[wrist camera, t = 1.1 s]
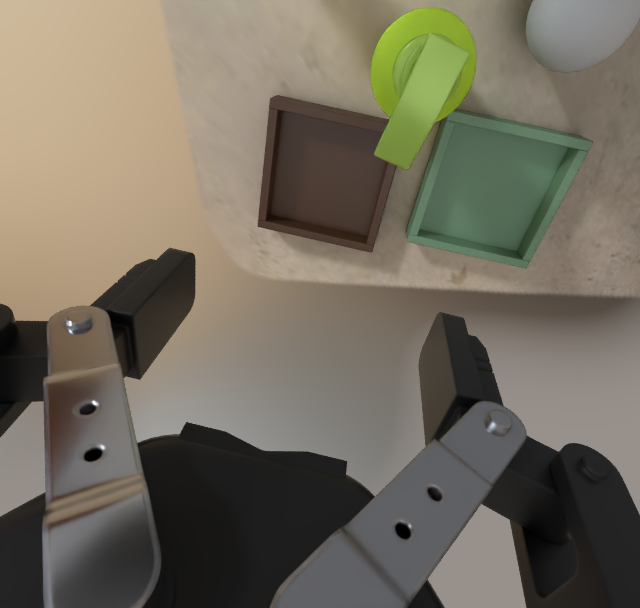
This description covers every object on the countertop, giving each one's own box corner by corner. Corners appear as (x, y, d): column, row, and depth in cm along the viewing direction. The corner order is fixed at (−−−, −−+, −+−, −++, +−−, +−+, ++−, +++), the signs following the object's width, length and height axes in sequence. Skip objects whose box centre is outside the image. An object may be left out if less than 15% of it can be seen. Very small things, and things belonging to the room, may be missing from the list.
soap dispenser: (359, 97, 36) (334, 139, 19) (396, 8, 32) (405, -38, 15) (418, 125, 36) (444, 190, 20) (461, 41, 33) (539, 31, 16)
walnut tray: (277, 94, 37) (270, 97, 34) (405, 123, 36) (406, 128, 34) (264, 217, 43) (257, 226, 41) (372, 242, 43) (371, 253, 41)
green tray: (445, 106, 35) (449, 110, 33) (581, 136, 35) (593, 141, 33) (405, 231, 42) (406, 241, 40) (519, 257, 41) (526, 269, 39)
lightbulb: (559, -51, 29) (639, -99, 20) (599, 23, 31) (690, 11, 22) (482, 21, 32) (521, 10, 22) (524, 85, 34) (576, 98, 24)
